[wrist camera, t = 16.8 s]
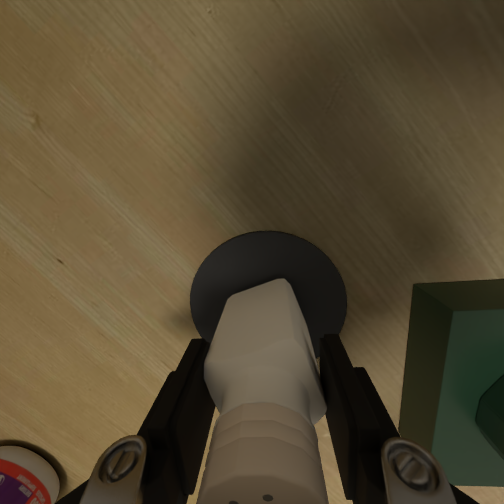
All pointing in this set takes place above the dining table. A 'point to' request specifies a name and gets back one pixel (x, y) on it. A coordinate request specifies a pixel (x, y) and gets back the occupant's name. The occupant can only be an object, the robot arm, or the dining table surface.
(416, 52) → the dining table surface
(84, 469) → the dining table surface
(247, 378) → the salt shaker
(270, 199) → the dining table surface
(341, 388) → the robot arm
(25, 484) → the pill bottle
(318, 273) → the coaster
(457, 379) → the green square nut
